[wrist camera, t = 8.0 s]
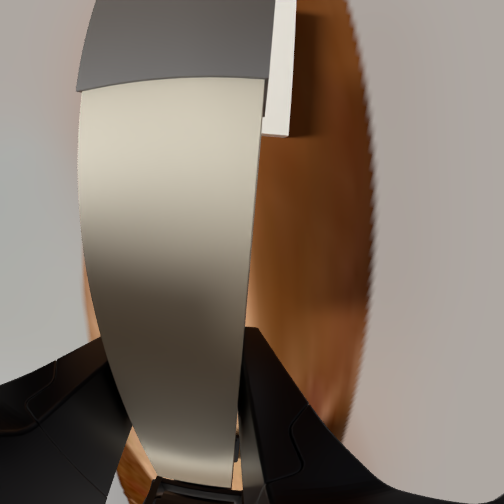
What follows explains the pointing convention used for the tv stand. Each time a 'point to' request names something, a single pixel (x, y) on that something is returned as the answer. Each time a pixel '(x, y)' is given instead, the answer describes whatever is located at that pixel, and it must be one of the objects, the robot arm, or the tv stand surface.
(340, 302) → the tv stand surface
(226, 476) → the curved white panel
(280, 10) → the tile
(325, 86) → the tv stand surface
